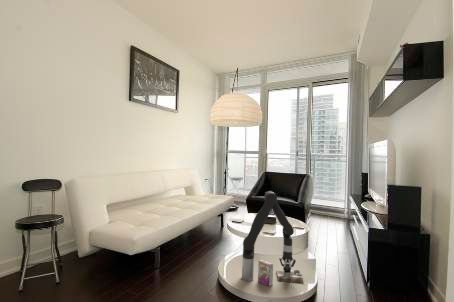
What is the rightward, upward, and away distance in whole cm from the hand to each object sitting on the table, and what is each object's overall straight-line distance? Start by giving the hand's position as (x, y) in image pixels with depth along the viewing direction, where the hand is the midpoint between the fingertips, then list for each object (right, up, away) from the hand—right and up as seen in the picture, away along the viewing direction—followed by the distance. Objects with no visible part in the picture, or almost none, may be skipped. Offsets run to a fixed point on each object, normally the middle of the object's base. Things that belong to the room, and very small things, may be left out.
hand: (287, 271), depth 194 cm
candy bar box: (-19, -6, -8) cm, 22 cm away
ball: (+5, -4, +6) cm, 9 cm away
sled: (0, -5, +3) cm, 6 cm away
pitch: (+3, -7, +4) cm, 9 cm away
